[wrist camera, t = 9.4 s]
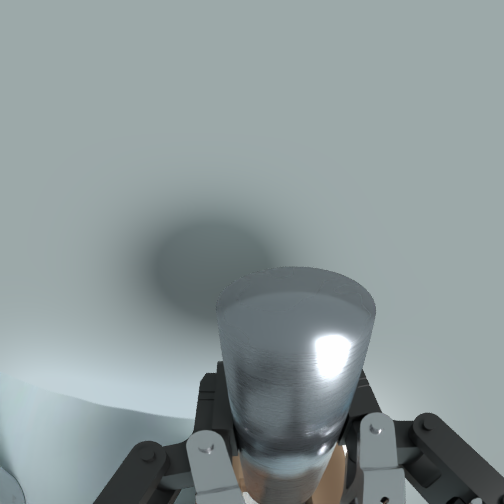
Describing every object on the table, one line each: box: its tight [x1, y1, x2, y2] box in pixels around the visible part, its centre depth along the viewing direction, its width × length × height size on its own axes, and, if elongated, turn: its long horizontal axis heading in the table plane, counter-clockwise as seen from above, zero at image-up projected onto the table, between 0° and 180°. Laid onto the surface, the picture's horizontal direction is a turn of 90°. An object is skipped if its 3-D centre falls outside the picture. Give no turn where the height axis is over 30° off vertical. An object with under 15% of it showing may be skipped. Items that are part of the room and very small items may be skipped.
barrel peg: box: [216, 267, 376, 504], centre depth 9 cm, size 4×4×12 cm
